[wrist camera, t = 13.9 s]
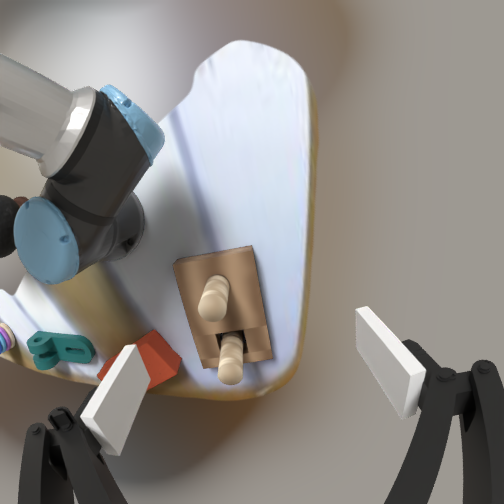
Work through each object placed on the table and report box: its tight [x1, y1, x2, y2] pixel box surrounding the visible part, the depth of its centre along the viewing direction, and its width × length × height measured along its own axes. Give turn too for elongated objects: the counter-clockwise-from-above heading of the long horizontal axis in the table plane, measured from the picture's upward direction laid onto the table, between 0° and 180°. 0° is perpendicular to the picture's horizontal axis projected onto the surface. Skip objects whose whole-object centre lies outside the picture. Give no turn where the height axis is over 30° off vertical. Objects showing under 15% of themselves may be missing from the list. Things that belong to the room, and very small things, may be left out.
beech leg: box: [218, 330, 243, 385], centre depth 49 cm, size 4×4×14 cm
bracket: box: [27, 331, 95, 370], centre depth 52 cm, size 18×7×8 cm, turn 93°
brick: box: [97, 330, 182, 391], centre depth 54 cm, size 18×9×6 cm, turn 125°
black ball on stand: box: [0, 195, 29, 258], centre depth 41 cm, size 13×13×15 cm
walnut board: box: [173, 245, 273, 369], centre depth 47 cm, size 14×22×14 cm, turn 10°
